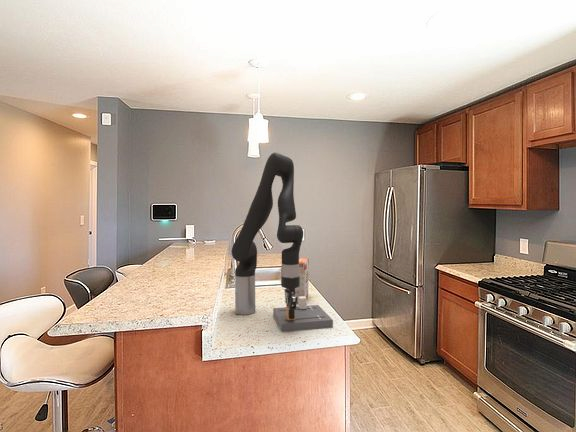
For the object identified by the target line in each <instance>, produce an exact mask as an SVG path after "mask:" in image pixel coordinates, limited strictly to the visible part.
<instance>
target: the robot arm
mask: <svg viewBox="0 0 576 432" xmlns="http://www.w3.org/2000/svg"><path fill="white" fill-rule="evenodd" d="M262 172H263V173H262V175H261V179H260V182H259V185H258V187H257V190H256V192H255V195H254V197H253V199H252V201H251V203H250V207H249V210H248V212H247V215H246V217H245V219H244V221H243V224H242V226H241V230H240V231H239V234H238V236H237V237H236V239H235V241H234V243H233V245H232V247H231V256H232V258H233V259H234V260H235V261H236V262H238V265H237V266H236V268H235V270H234V311H235V314H236V315H240V316H241V315H242V316H243V315H244V316H246V315H252V314H254V313H256V270H257V264H258V263H257V262H258V249H257V245H256V243H255V242H254V239H255V237H256V236H257V234H258V233H259V231H260V230H261V229H262V227H263V226H264V225H265V224H266V222H267V221H268V219H269V217H270V215H271V212H272V210H273V208H274V207H273V206H274V199H273V189H272V188H273V183H274V180H275V178H276V176H277V177H280V179H281V181H282V182H281V183H282V186H281V191H280V193H279V195H278V198H277V211H278V224H277V225H278V226H277V231H276V238H277V241H279V243H281V244H292V245H291V246H290V247H287V248H284V249H282V251H281V269H280V282H281V283H280V286H281V287H282V288H284V297H285V299H284V300H285V301H284V302H285V307H286V306H289V308H288V309H289V319H294V318H295V309H296V306H297V305H298V303H297V297H296V292H295V288H297V287H299V286H300V268H299V258H300V250H301V246H302V242H303V239H304V230H303V228H302V226H301V225H300V224H299V225H297V224H293V225H288V224H286V223H290V222H292V221H294V220H296V219H297V213H296V205H295V204H296V203H295V198H294V196H295V195H294V190H295V189H294V187H295V186H294V183H295V179H294V178H295V167H294V161H293V159H291V158H290V157H288V156H286V155H284V154H281V153H279V152H272V153H271V154H270V155H269V156H268V158H267V160H266V162H265V165H264V169H263V171H262Z"/></svg>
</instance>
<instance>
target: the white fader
mask: <svg viewBox="0 0 576 432" xmlns="http://www.w3.org/2000/svg"><path fill="white" fill-rule="evenodd" d="M307 299H308V298H306V297H305V296H301V297H298V303H297V305H298V307H299V309H307V306H308V305H307V304H308V303H307V301H308V300H307Z"/></svg>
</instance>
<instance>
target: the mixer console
mask: <svg viewBox="0 0 576 432" xmlns="http://www.w3.org/2000/svg"><path fill="white" fill-rule="evenodd" d="M272 309H273V313H272V314H273V317H274V318H275V321H276V323H277V326H278V327H279V329H280V331H281V332H282V333H283V332H284V331H285V332H294V331H306V330H315V329H317V330H318V329H328V328H329V329H330V328H334V320H333V319H332V317H331V316H330V315H328V313H327V312H326V311H325V310H324V309H323V308H322V307H321V306H320V305H319V304H313V305H311V304H310V305H307V309H299V307H298V306H296V309H295V320H287V318H286V306H283V307H273V308H272Z"/></svg>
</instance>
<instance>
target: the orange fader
mask: <svg viewBox="0 0 576 432" xmlns="http://www.w3.org/2000/svg"><path fill="white" fill-rule="evenodd" d="M285 307H286V318H287V320H295V318H294V319H289V309H288V308H289V306H286V305H285Z"/></svg>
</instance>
